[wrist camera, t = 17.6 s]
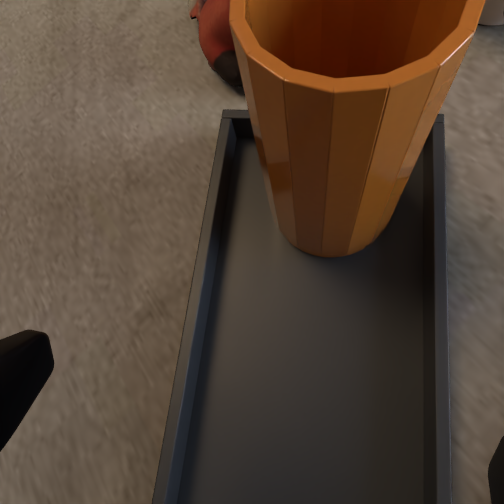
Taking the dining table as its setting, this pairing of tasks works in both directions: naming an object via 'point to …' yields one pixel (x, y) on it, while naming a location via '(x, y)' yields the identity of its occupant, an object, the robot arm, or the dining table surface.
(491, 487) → the robot arm
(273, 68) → the tumbler
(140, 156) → the dining table surface
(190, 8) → the stuffed fox
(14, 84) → the dining table surface
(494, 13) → the cup
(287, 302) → the tray
